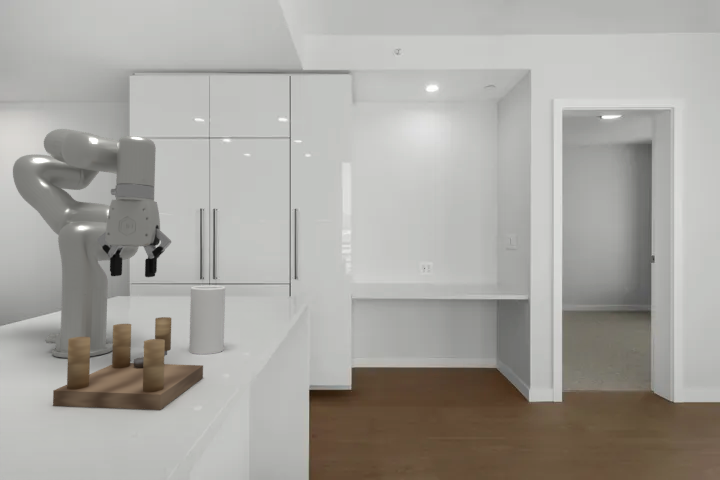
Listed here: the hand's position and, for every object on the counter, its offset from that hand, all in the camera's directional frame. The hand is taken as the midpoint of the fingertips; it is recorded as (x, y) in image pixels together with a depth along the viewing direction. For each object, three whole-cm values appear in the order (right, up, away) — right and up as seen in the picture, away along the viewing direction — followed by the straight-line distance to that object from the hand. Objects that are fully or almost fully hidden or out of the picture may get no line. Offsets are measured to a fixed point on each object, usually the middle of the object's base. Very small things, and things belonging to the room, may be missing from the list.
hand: (133, 275), depth 100 cm
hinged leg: (+6, -17, -5) cm, 19 cm away
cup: (+11, -20, +16) cm, 28 cm away
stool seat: (+8, -20, -16) cm, 27 cm away
